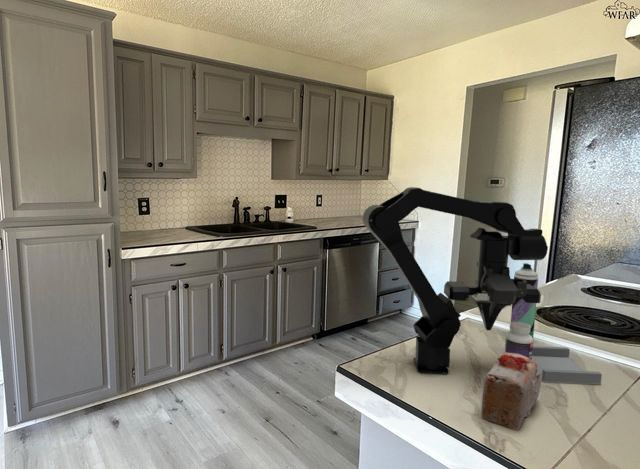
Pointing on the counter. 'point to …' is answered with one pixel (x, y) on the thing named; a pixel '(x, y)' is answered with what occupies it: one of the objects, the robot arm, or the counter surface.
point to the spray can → (519, 307)
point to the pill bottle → (519, 340)
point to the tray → (562, 367)
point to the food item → (511, 390)
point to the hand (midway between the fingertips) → (487, 329)
